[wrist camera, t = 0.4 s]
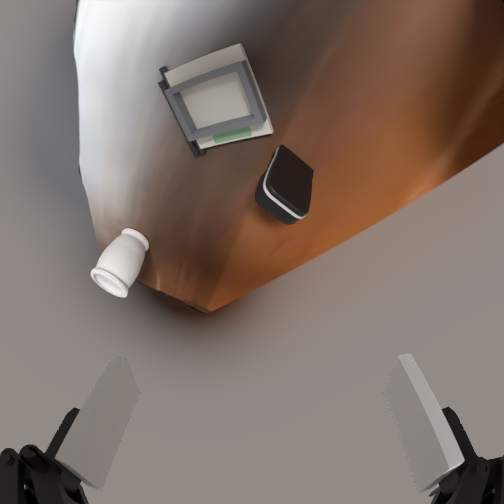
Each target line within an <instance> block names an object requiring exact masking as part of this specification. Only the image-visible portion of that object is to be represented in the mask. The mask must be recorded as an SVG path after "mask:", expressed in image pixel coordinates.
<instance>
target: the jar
mask: <svg viewBox="0 0 504 504" xmlns="http://www.w3.org/2000/svg"><path fill="white" fill-rule="evenodd" d="M148 249H149V242H148V240H147V239H146V238H145V237H144V236H143V235H142V234H141V233H140V232H138V231H136V230H134V229H130V228H126V229H124V230H123V231H122V234H121V236H119V237H117V238H116V239H115V240H114V241H113V242H112V243H111V244H110V245H109V246H108V247H107V248H106V249H105V251H104V252H103V253H102V255H101V257H100V259H99V261H98V263H97V266H96V268H94V269H93V270H92V271H91V277H92V278H93V280H94V281H95V282H96V283H97V284H98V285H99V286H100V287H102V288H103V289H104V290H106V291H107V292H109V293H111V294H113V295H116V296H119V297H126V296H127V294H128V288H129V287H130V286H131V285H132V284H133V282H134V281H135V279H136V278H137V276H138V274H139V271H140V269H141V265H142V263H143V260H144V257H145V251H147V250H148Z"/></svg>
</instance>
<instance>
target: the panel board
mask: <svg viewBox="0 0 504 504" xmlns="http://www.w3.org/2000/svg"><path fill="white" fill-rule="evenodd" d="M164 74H165V76H166V78H167V81H168V83H169V85H170V88H168V89H167V90H165V91H164V92H165V94H166V96H167V99H168V101H169V103H170V105H171V107H172V109H173V111H174V113H175V115H176V117H177V119H178V121H179V123H180V125H181V127H182V129H183V131H184V133H185V135H186V137H187V139H188V141H189V142H190V141H193V140H196V141H197V143H198V145H199V147H200V149H203V148H207V147H211V146H215V145H219V144H223V143H228V142H232V141H237V140H241V139H246V138H251V137H256V136H261V135H266V134H272V133H273V131H274V130H273V127H272V124H271V121H270V118H269V115H268V112H267V110H266V107H265V104H264V101H263V98H262V95H261V93H260V90H259V87H258V84H257V82H256V79H255V76H254V74H253V71H252V68H251V66H250V63H249V61H248V58H247V56H246V53H245V51H244V48H243V46H242V43H239V44H236V45H233V46H230V47H227V48H224V49H221V50H218V51H216V52H213V53H210V54H208V55H205V56H202V57H200V58H197V59H195V60H193V61H190V62H188V63H186V64H183V65H181V66H179V67H177V68H174V69H172V70H170V71H168V72H166V73H164Z"/></svg>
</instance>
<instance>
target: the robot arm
mask: <svg viewBox="0 0 504 504" xmlns="http://www.w3.org/2000/svg"><path fill="white" fill-rule="evenodd" d="M140 394H141V392H140V389H139V387H138V385H137V383H136V380H135V378H134V376H133V374H132V371H131V369H130V366H129V364H128V362H127V359H126V357H122V356H116V355H113V356H112V358H111V359H110V361H109V362H108V364H107V366H106V367H105V369H104V371H103V372H102V374H101V376H100V377H99V379H98V380H97V382H96V384H95V385H94V387H93V389H92V390H91V392H90V394H89V395H88V397H87V399H86V401H85V402H84V404H83V406H82V408H81V409H77V408H73V409H72V410H71V411H70V412H68V413H67V415H66V416H65V418H64V420H63V421H62V424H61V425H60V427H59V430H57V432H56V434H55V436H54V438H53V439H52V441H51V443H50V445H49V447H48V449H47V451H46V452H45V453H43V452H42V451H41V450H40V449H39V448H37V446H34V445H26V446H24V447H23V448H22V449H21V450H20V453H19V454H18V453H17V452H16V451H15V450H14V449H11V448H6V449H5V450H3V451H2V453H1V455H0V504H89V503H88V501H87V498H86V496H85V493H84V491H83V488H82V486H81V485H80V482H81V481H83V482H84V483H85V484H87V485H88V486H90V487H93V488H95V489H97V490H100V491H102V488H103V485H104V482H105V479H106V477H107V474H108V472H109V469H110V467H111V464H112V461H113V458H114V456H115V454H116V451H117V449H118V446H119V443H120V441H121V438H122V436H123V434H124V431H125V429H126V427H127V424H128V422H129V419H130V417H131V415H132V412H133V410H134V408H135V405H136V403H137V401H138V398H139V396H140ZM383 394H384V396H385V399H386V401H387V404H388V407H389V409H390V412H391V414H392V417H393V420H394V423H395V425H396V428H397V431H398V434H399V437H400V439H401V443H402V445H403V448H404V451H405V454H406V457H407V461H408V464H409V467H410V470H411V473H412V477H413V480H414V483H415V487H416V490H417V493H420V492H423V491H425V490H428V489H430V488H432V487H434V486H435V485H436V484H437V483H439V487H438V488H437V489H435V490H434V491H433V492H432V493H431V494H430V495H429V496H430V497H431V496H432V495H434V494H435V493H436V494H435V496H434V498H433V501H432V503H431V504H504V455H503V456H502V457H499V458H495V459H490V460H486V459H484V458H483V457H478V456H477V455H476V453H475V452H474V449H473V447H472V445H471V443H470V441H469V439H468V437H467V434H466V432H465V430H463V429H464V428H463V427H462V424H460V420H459V418H458V416H457V415H456V413H455V412H454V411H453V410H452V409H451V408H449V407H446V408H444V409H441V408H440V406H439V404H438V402H437V400H436V398H435V397H434V394H433V393H432V391H431V389H430V387H429V385H428V384H427V381H426V380H425V378H424V376H423V374H422V373H421V371H420V369H419V367H418V365H417V364H416V362H415V360H414V359H413V357H412V355H411V353H408V354H403V355H398V356H397V358H396V361H395V363H394V366H393V368H392V371H391V373H390V376H389V378H388V381H387V383H386V385H385V388H384V390H383ZM24 484H25V485H26V487H25V489H24ZM494 489H495V490H494Z"/></svg>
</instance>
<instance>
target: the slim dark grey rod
mask: <svg viewBox="0 0 504 504" xmlns="http://www.w3.org/2000/svg"><path fill="white" fill-rule="evenodd" d="M159 70H160V72H161V74H162V76H163V78H164V80H163V81H161V82H159V83H158V84H159V86H160V88H161V90H162V92H163V94H164V96H165V98H166V100H167V102H168V104H169V106H170V108H171V110H172V112H173V114H174V116H175V118H176V120H177V122H178V124H179V126H180V128H181V130H182V132H183V134H184V136H185V138H186V140H187V142H188V144H189V146H190V148H191V150H192V152H193V154H194V156H198V155H199V154H201V155H202V154H205V153H206V151H205V148H203V149H200V147H199V145H198V143H197V141H196V140H193V141H190V142H189V141H188V139H187V137H186V135H185V133H184V131H183V129H182V127H181V125H180V123H179V121H178V119H177V117H176V115H175V113H174V111H173V109H172V107H171V105H170V103H169V101H168V99H167V96H166V94H165V92H164V91H165V90H167V89H168V88H170V85H169V83H168V81H167V78H166V76H165V74H164V73H166V72H168V71H167V69H166V67H162V68H160V69H159Z"/></svg>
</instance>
